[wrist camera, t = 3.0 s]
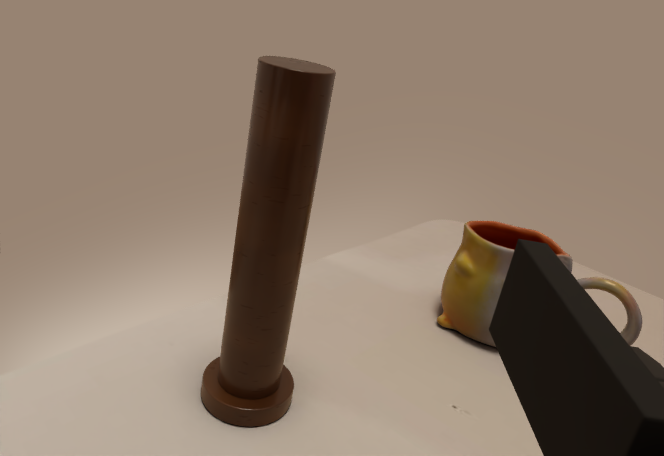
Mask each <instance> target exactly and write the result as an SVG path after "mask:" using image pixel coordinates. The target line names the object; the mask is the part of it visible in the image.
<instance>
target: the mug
mask: <svg viewBox="0 0 664 456" xmlns="http://www.w3.org/2000/svg"><path fill="white" fill-rule="evenodd" d="M518 239H523V240H529V241H535V242H541V243H547V244H548V245H549V246H550V248H551V249H552V250H553V251H554V253H555V254H556V255H557V256H558V258H559V259H560V260H561V261H562V263H563V264H564V265H565V266H566V268H567V269H568V270H569V271H570V272H572V258H571V256H570V255H568V254H567V253H565V252H564V251H563V250H562V249H561V247H560V246H559V245H558V244H557V243H556V242H554V241H553V240H552V239H550V238H549V237H547V236H545V235H544V234H542V233H540V232H538V231H535V230H531V229H525V228H520V227H515V226H512V225H508V224H503V223H500V222H494V221H469V222H467V223H465V225H464V232H463V239H462V243H461V245H460V247H459V249H458V251H457V253H456V255H455V257H454V258H453V260H452V262H451V264H450V266H449V268H448V270H447V272H446V275H445V278H444V281H443V285H442V291H441V302H442V308H443V314H442V315H440V316H439V317H438V318H437V322H438V324H440V325H441V326H443V327H445V328H450V329H455V330H457V331H459V332H460V333H462V334H463V335H465V336H467V337H469V338H471V339H474V340H476V341H479V342H481V343H484V344H487V345H490V346H494V347H496V345H495V343H494V341H493V338H492V336H491V334H490V332H489V327H490V324H491V321H492V318H493V314H494V311H495V308H496V305H497V302H498V299H499V296H500V293H501V290H502V287H503V284H504V281H505V278H506V275H507V272H508V269H509V266H510V263H511V260H512V257H513V254H514V250H515V247H516V244H517V241H518ZM577 281H578V282H579V284H580V285H581V286H582V287H583V289H599V290H603V291H606V292H609V293H611V294H613V295H614V296H616V297H617V298H618V299H619V300H620V301H621V302H622V304H623V305H624V307H625V309H626V312H627V324H626V326H625V328H624V329H623V331H622V332H621V333H620V334H621V336H622V337H623V338H624V339H625V341H626V342H627V343H628V344H629V345H630V346H631V345H632V344H633V343H634V342H635V341H636V339H637V338H638V336H639V334H640V331H641V327H642V315H641V312H640V309H639V306H638V304H637V302H636V301H635V299H634V298H633V296H632V295H631V294H630V293H629V292H628V291H627V290H626V289H625V288H624V287H623V286H622V285H620V284H619V283H617V282H615V281H612V280H609V279H606V278H600V277H591V278H583V279H578V280H577Z"/></svg>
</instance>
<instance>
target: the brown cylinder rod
mask: <svg viewBox="0 0 664 456" xmlns="http://www.w3.org/2000/svg"><path fill="white" fill-rule="evenodd" d="M335 74H336V73H335V70H333V69H331V68H329V67H326V66H323V65H320V64H317V63H312V62H308V61H304V60H298V59H293V58H286V57H276V56H263V57H259V59H258V66H257V74H256V82H255V90H254V98H253V105H252V113H251V121H250V129H249V136H248V145H247V153H246V160H245V168H244V176H243V183H242V191H241V199H240V207H239V215H238V223H237V230H236V238H235V246H234V254H233V262H232V269H231V277H230V285H229V293H228V300H227V308H226V316H225V324H224V332H223V339H222V347H221V355H220V357H218V358H216V359H215V360H213V361H212V362H211V363H210V364H209V365H208V366H207V367H206V369H205V371H204V374H203V380H202V388H201V398H202V401H203V403H204V405H205V407H206V408H207V410H208V411H209V412H210V413H211V414H212V415H214V416H215V417H217V418H218V419H220V420H222V421H224V422H227V423H230V424H233V425H237V426H247V427H252V426H261V425H266V424H269V423H272V422H274V421H276V420H278V419H279V418H280V417H282V416H283V415H284V414H285V413H286V411H287V410H288V408H289V406H290V404H291V399H292V394H293V389H294V381H293V377H292V375H291V373H290V371H289V370H288V369H287V368H286V367H285V366H284V365H283V363H284V357H285V352H286V346H287V341H288V335H289V329H290V324H291V318H292V313H293V307H294V302H295V296H296V291H297V285H298V279H299V274H300V268H301V263H302V257H303V251H304V246H305V240H306V235H307V229H308V224H309V218H310V213H311V207H312V202H313V196H314V191H315V185H316V179H317V173H318V168H319V163H320V157H321V152H322V146H323V140H324V134H325V129H326V124H327V118H328V112H329V107H330V102H331V96H332V90H333V84H334V79H335Z"/></svg>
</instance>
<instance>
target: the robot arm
mask: <svg viewBox="0 0 664 456" xmlns="http://www.w3.org/2000/svg"><path fill="white" fill-rule="evenodd" d="M489 332H490V334H491V336H492V338H493V341H494V343H495V345H496V348H497V350H498V352H499V354H500V357H501V359H502V361H503V364H504V366H505V368H506V370H507V373H508V375H509V377H510V380H511V382H512V384H513V386H514V389H515V391H516V393H517V396H518V398H519V400H520V402H521V405H522V407H523V409H524V411H525V414H526V416H527V418H528V421H529V423H530V425H531V427H532V430H533V432H534V434H535V437H536V439H537V441H538V443H539V446H540V448H541V450H542V453H543V455H544V456H664V368H663V367H662V365H661V364H660V363H658V362H657V361H656V360H654V359H653V358H652V357H650V356H649V355H648V354H646V353H645V352H643V351H642V350H641V349H639V348H638V347H631V346H630V345H629V344H628V343H627V342H626V341H625V339H624V338H623V337H622V336H621V334H620V333H619V332H618V331H617V329H616V328H615V327H614V326H613V324H612V323H611V322H610V321H609V319H608V318H607V317H606V316H605V315H604V313H603V312H602V311H601V310H600V308H599V307H598V306H597V305H596V303H595V302H594V301H593V300H592V298H591V297H590V296H589V295H588V293H587V292H586V291H585V290H584V289H583V287H582V286H581V285H580V284H579V282H578V281H577V280H576V279H575V277H574V276H573V275H572V274H571V272H570V271H569V270H568V269H567V268H566V266H565V265H564V264H563V263H562V261H561V260H560V259H559V258H558V256H557V255H556V254H555V253H554V251H553V250H552V249H551V248H550V246H549V245H548V244H547V243H541V242H535V241H529V240H523V239H518V241H517V244H516V247H515V250H514V254H513V257H512V260H511V263H510V266H509V269H508V272H507V275H506V278H505V281H504V284H503V287H502V290H501V293H500V296H499V299H498V302H497V305H496V308H495V311H494V314H493V318H492V321H491V324H490V327H489Z"/></svg>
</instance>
